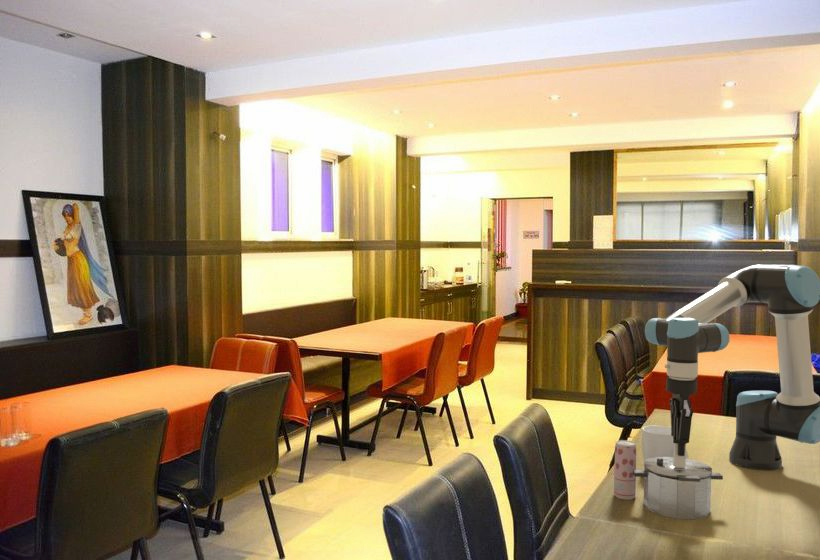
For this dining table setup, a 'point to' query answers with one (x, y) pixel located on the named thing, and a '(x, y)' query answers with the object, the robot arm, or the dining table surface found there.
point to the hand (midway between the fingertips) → (679, 466)
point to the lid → (678, 469)
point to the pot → (677, 495)
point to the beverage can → (625, 469)
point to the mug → (657, 442)
